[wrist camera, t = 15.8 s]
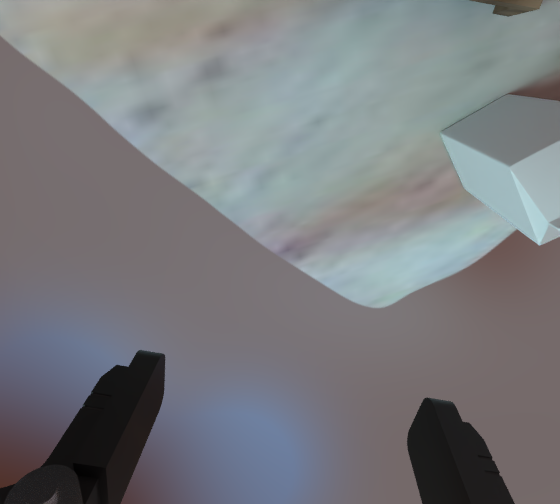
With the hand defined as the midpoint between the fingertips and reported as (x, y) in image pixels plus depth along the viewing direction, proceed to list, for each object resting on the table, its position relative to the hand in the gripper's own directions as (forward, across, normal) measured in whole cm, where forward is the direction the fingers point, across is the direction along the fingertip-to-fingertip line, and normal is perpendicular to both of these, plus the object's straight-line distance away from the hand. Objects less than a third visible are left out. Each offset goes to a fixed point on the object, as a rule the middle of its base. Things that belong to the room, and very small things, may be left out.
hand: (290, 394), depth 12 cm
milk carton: (+33, -19, -5) cm, 39 cm away
